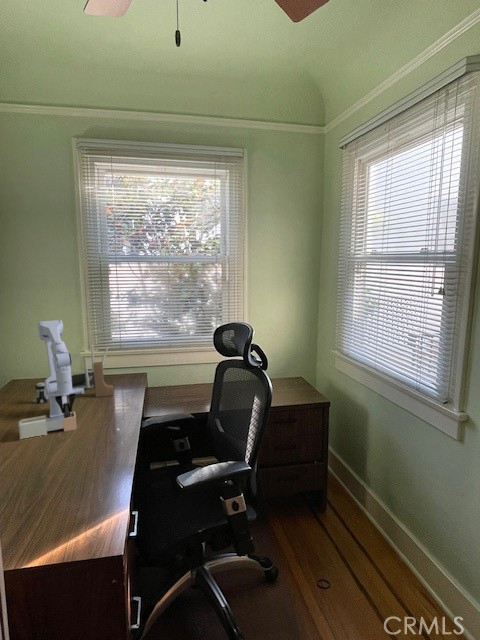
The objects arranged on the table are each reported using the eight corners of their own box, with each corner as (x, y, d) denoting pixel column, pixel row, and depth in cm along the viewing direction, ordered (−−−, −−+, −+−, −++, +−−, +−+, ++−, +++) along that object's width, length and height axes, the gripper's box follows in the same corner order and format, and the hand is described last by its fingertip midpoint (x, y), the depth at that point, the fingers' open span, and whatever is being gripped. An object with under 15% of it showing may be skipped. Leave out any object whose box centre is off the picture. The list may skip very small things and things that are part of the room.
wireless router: (72, 376, 225) (69, 345, 222) (111, 373, 231) (109, 343, 228) (61, 394, 193) (57, 358, 190) (106, 390, 199) (104, 355, 196)
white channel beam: (21, 434, 148) (19, 419, 147) (47, 429, 152) (45, 415, 151) (20, 440, 142) (18, 425, 141) (47, 435, 147) (45, 420, 146)
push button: (32, 405, 179) (30, 385, 177) (35, 401, 184) (33, 382, 182) (47, 403, 181) (45, 384, 179) (49, 399, 186) (47, 381, 184)
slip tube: (41, 428, 150) (39, 406, 149) (72, 422, 156) (71, 401, 154) (41, 432, 147) (39, 410, 145) (73, 426, 152) (71, 404, 151)
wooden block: (113, 392, 195) (111, 360, 193) (113, 395, 191) (111, 362, 188) (95, 394, 192) (93, 362, 189) (95, 397, 188) (93, 364, 185)
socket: (63, 425, 155) (62, 413, 154) (75, 423, 157) (74, 411, 156) (64, 431, 150) (63, 418, 149) (76, 429, 152) (75, 416, 151)
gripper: (44, 386, 143) (47, 418, 145) (83, 381, 150) (86, 411, 152) (44, 381, 149) (47, 412, 151) (82, 376, 156) (84, 406, 158)
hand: (66, 411), depth 152 cm, fingers closed on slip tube, 2 cm apart
